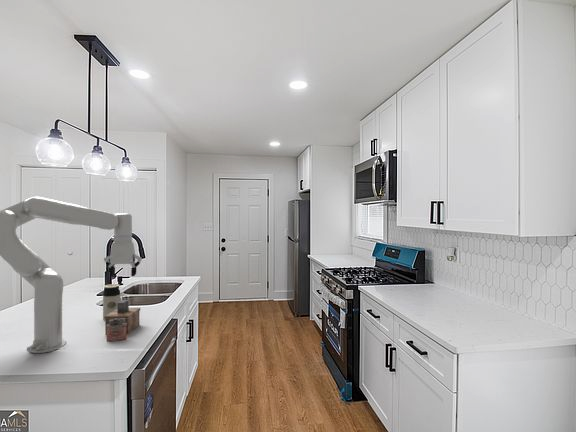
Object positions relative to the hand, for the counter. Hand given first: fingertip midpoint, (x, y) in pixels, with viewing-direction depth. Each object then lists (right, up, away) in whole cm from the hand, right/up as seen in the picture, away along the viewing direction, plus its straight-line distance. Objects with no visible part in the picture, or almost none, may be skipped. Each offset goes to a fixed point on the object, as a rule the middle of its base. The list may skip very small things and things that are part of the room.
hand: (123, 275), depth 161 cm
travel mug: (-14, -26, +17) cm, 35 cm away
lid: (0, -18, 0) cm, 18 cm away
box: (0, -26, 0) cm, 26 cm away
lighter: (+3, -27, -13) cm, 30 cm away
